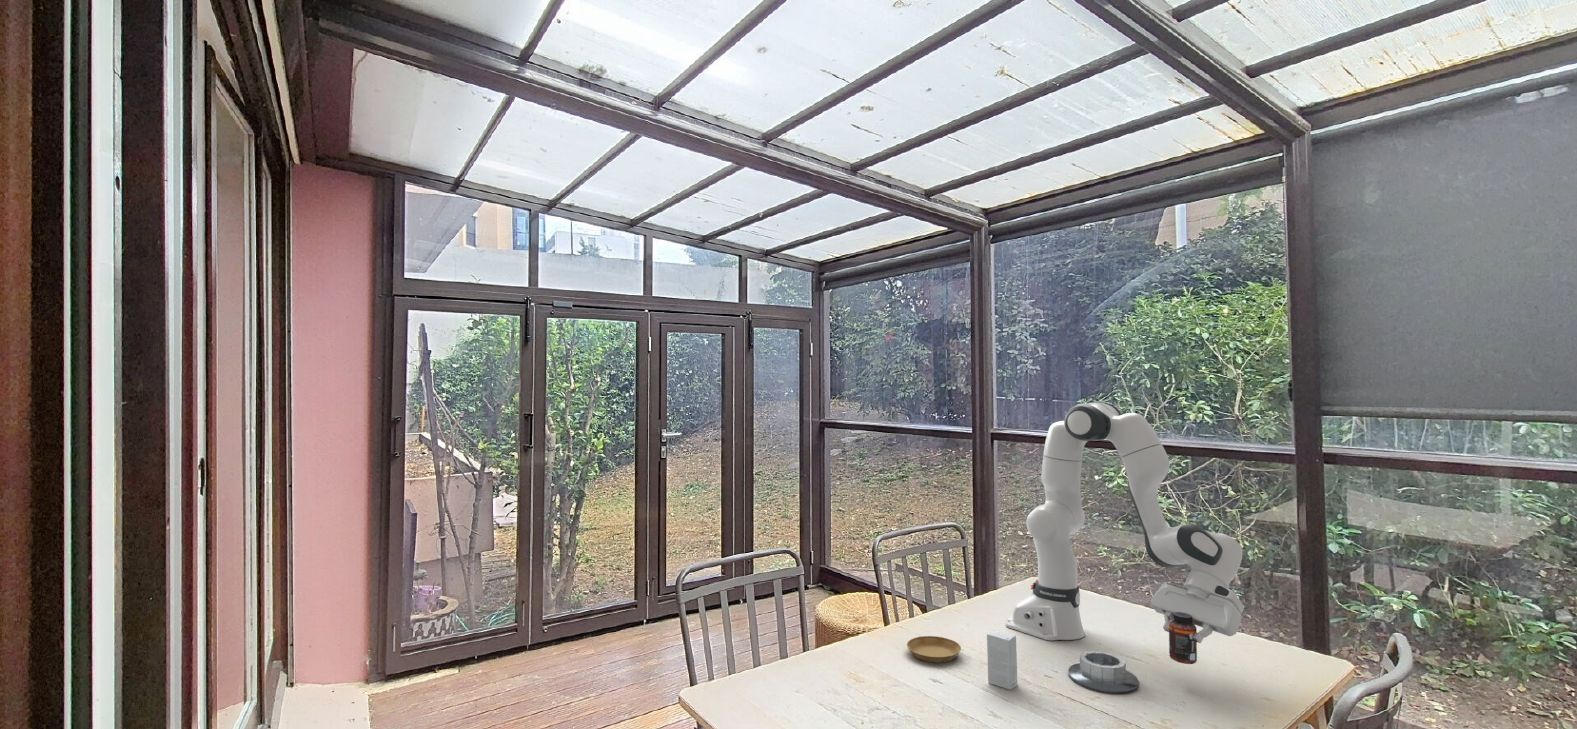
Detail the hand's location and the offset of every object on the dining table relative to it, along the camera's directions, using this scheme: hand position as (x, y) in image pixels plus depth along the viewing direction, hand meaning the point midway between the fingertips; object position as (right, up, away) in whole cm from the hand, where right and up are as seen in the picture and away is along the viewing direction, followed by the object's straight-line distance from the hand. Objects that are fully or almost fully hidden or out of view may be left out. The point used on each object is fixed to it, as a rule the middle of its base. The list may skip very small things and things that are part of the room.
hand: (1181, 635), depth 163 cm
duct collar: (-19, -12, +1) cm, 22 cm away
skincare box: (-45, -12, -1) cm, 47 cm away
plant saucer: (-58, -13, +18) cm, 62 cm away
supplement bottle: (+1, -6, 0) cm, 6 cm away
